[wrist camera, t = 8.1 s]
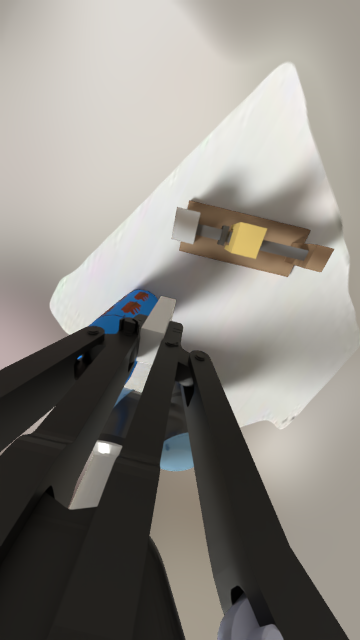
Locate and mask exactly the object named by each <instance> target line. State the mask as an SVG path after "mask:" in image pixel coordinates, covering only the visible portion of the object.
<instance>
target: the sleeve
mask: <svg viewBox="0 0 360 640" xmlns="http://www.w3.org/2000/svg"><path fill="white" fill-rule="evenodd" d="M230 230H233V233H232V236H231V239H230V242H229V245H225V248H224V249H225V250H227V251H229V252H231V253H234V254H238V255H242V256H246V257H250V258H254V259H256V257H257V254H258V251H259V249H260V246H261V244H262V241H263V239H264V236H265V233H266V231H267V228H263V227H259V226H255V225H251V224H247V223H243V222H240V223H237V224H233V225H231V229H230Z"/></svg>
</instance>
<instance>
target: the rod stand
mask: <svg viewBox="0 0 360 640" xmlns="http://www.w3.org/2000/svg"><path fill="white" fill-rule="evenodd" d="M240 222H243V223H247V224H251V225H255V226H259V227H263V228H267V231H266V233H265V236H264V239H263V241H262V244H261V246H260V249H259V251H258V254H257V257H256V259H254V258H250V257H246V256H242V255H238V254H234V253H231V252H229V251H227V250H225V249H224V248H225V245H229V242H230V239H231V236H232V233H233V230H230V229H231V225H233V224H237V223H240ZM310 231H311V230H309V229H305V228H301V227H296V226H292V225H288V224H284V223H280V222H276V221H272V220H268V219H264V218H260V217H256V216H251V215H247V214H243V213H239V212H235V211H231V210H227V209H223V208H219V207H215V206H210V205H206V204H202V203H198V202H194V201H190V200H189V204H188V209H183V208H179V207H177V211H176V216H175V222H174V227H173V233H172V239H173V240H178V241H181V244H180V249H179V251H183V252H187V253H191V254H195V255H199V256H203V257H207V258H212V259H216V260H220V261H224V262H228V263H232V264H236V265H240V266H245V267H249V268H253V269H257V270H261V271H265V272H269V273H273V274H277V275H282V276H286V277H288V276H289V274H290V272H291V270H292V268H293V266H294V265H296V266H299V267H302V268H306V269H310V270H314V271H318V272H322V270H323V268H324V267H325V265H326V263H327V261H328V259H329V258H330V256H331V254H332V252H333V251H334V249H333V248H329V247H324V246H320V245H314V244H304V243H305V241H306V239H307V237H308V235H309V233H310Z"/></svg>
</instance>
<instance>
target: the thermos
mask: <svg viewBox="0 0 360 640" xmlns="http://www.w3.org/2000/svg"><path fill="white" fill-rule="evenodd" d="M157 302H158V299H157V298H156V297H155V295H153V294H152V293H150V292H149V291H145V290H135V291H133V292H131V293H129V294H127V295H126V296H124V297H123V298H122V299H121V300H119V301H118V302H117V303H116V304H115V305H113V306H112V307H111V308H110V309H109V310H107V311H106V312H105V313H104V314H102V315H101V316H100V317H99V318H98V319H96V320H95V321H94V322H93V323H92V324H90V325H89V326H98V327H101V328H103V329H104V330H105V334H116V333H117V332H118V331H119V320H120V319H121V318H125V317H131V318H134V317H135V316H136V315H138V314H143V315H147V316H149V315H150V313H151V311H152V310H153V308H154V307H155V305H156V303H157ZM81 357H82V355H81V356H80V357H78V358H77V359H79V358H81ZM136 360H137V357H136V359H135V363H134V367H133V369H132V371H131V373H130V375H129V377H128V379H127V381H128V380H129V378H130V377H131V375H132V373H133V370H134V368H135V366H136V364H137V362H138V361H136ZM127 381H126V382H127ZM125 384H126V383H125Z"/></svg>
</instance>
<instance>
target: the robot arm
mask: <svg viewBox="0 0 360 640" xmlns="http://www.w3.org/2000/svg"><path fill="white" fill-rule="evenodd" d="M175 303H176V299H172V298H168V297H164V296H161V297H160V299H159V300H158V302H157V303H156V305H155V307H154V308H153V310H152V311H151V313H150V315H149V316H147V315H143V314H138V315H136V316H135V317H134V318H131V317H125V318H121V319H120V320H119V331H118V332H117V333H116V334H105V330H104V329H103V328H101V327H98V326H88V327H85V328H83V329H81V330H79V331H77V332H75V333H73V334H71V335H69V336H67V337H65V338H63V339H61V340H59V341H58V342H55V343H53V344H51V345H49V346H47V347H45V348H43V349H41V350H40V351H37V352H35V353H34V354H31V355H29V356H28V357H25V358H23V359H21V360H19V361H18V362H15V363H13V364H11V365H9V366H7V367H5V368H4V369H2V370H0V452H1V451H2V450H3V449H4V448H6V447H7V446H8V445H9V444H10V443H12V442H13V441H14V440H15V439H16V438H17V437H19V436H20V435H21V434H22V433H24V432H25V431H26V430H27V429H28V428H30V427H31V426H32V425H33V424H34V423H36V422H37V421H38V420H39V419H40V418H41V417H43V416H44V415H45V414H46V413H47V412H49V411H50V410H51V409H52V408H53V407H54V409H53V410H52V411H51V412H50V413H49V415H48V416H47V417H46V418H45V419H44V421H43V422H42V423H41V424H40V426H39V427H38V428H37V429H36V430H35V431H34V432H33V433H31V434H27V435H22V436H20V437H19V438H17V439H16V440H15V441H14V442H13V443H12V444H11V445H10V446H9V447H8V448H7V449H6V450H5V451H4V452H3V453H2V455H1V456H0V640H185V636H184V633H183V629H182V626H181V622H180V619H179V616H178V612H177V608H176V605H175V602H174V598H173V595H172V591H171V588H170V585H169V581H168V577H167V574H166V571H165V567H164V564H163V561H162V558H161V556H160V553H159V551H158V549H157V547H156V545H155V543H154V542H153V540H152V539H151V537H150V536H149V534H150V529H151V523H152V517H153V511H154V505H155V499H156V493H157V487H158V481H159V475H160V468H162V469H164V470H169V471H183V470H186V469H190V468H193V467H194V470H195V476H196V482H197V487H198V493H199V499H200V505H201V511H202V517H203V523H204V529H205V535H206V540H207V546H208V552H209V557H210V562H211V567H212V572H213V577H214V581H215V585H216V588H217V592H218V596H219V599H220V603H221V607H222V610H223V613H224V617H223V619H222V621H221V624H220V627H219V631H218V638H217V640H349V639H348V637H347V635H346V634H345V632H344V631H343V629H342V628H341V626H340V624H339V623H338V621H337V620H336V618H335V617H334V615H333V613H332V612H331V610H330V609H329V607H328V606H327V604H326V603H325V601H324V599H323V598H322V596H321V595H320V593H319V591H318V590H317V588H316V587H315V585H314V584H313V582H312V580H311V579H310V577H309V576H308V575H307V573H306V571H305V570H304V568H303V566H302V565H301V563H300V562H299V560H298V559H297V557H296V556H295V554H294V552H293V551H292V549H291V548H290V546H289V543H288V541H287V538H286V536H285V534H284V531H283V529H282V527H281V524H280V522H279V520H278V518H277V515H276V512H275V510H274V508H273V505H272V503H271V501H270V499H269V496H268V494H267V491H266V489H265V486H264V484H263V482H262V480H261V477H260V475H259V472H258V470H257V468H256V466H255V463H254V461H253V458H252V456H251V454H250V451H249V449H248V446H247V444H246V442H245V439H244V437H243V435H242V432H241V430H240V428H239V425H238V423H237V420H236V418H235V416H234V413H233V411H232V409H231V406H230V404H229V402H228V399H227V397H226V395H225V392H224V390H223V387H222V385H221V383H220V380H219V378H218V376H217V373H216V371H215V369H214V366H213V364H212V361H211V359H210V357H209V356H208V355H207V354H206V353H204V352H202V351H198V350H197V351H192V352H191V353H188V352H186V351H185V350H184V349H182V347H181V345H180V343H181V337H182V332H183V326H182V324H181V323H177V322H173V321H172V316H173V312H174V308H175ZM81 355H82V357H81V358H79V359H77V358H78V357H80V356H81ZM136 357H137V360H136V361H138V362H142V363H146V364H150V365H152V367H151V370H150V373H149V375H148V378H147V381H146V383H145V386H144V389H143V392H142V393H141V392H138V391H135V390H134V389H132V390H131V389H127V388H124V385H125V383H126V381H127V379H128V377H129V375H130V373H131V371H132V369H133V367H134V363H135V359H136ZM92 450H93V457H92V459H91V461H90V463H89V466H88V468H87V470H86V472H85V474H84V477H83V479H82V481H81V483H80V485H79V488H78V490H77V492H76V494H75V497H74V499H73V501H72V503H71V505H70V508H69V509H68V506H69V504H70V501H71V498H72V495H73V491H74V488H75V485H76V483H77V480H78V478H79V476H80V474H81V472H82V470H83V468H84V466H85V464H86V462H87V460H88V458H89V456H90V454H91V452H92Z"/></svg>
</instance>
